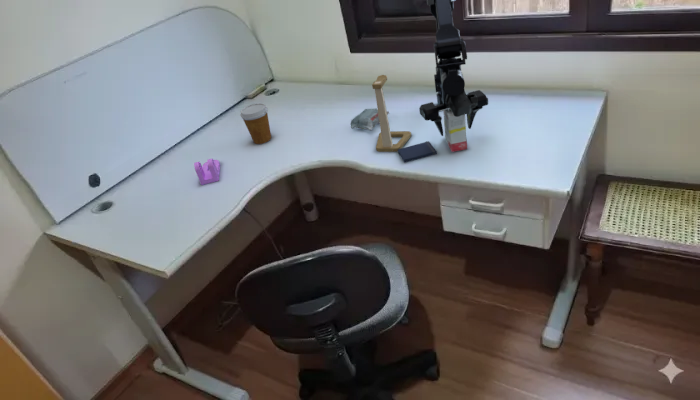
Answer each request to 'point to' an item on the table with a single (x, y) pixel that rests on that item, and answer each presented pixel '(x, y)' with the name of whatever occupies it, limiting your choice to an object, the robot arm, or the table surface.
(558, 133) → the table surface
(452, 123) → the ink box
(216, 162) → the bracket
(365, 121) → the packaged food
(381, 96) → the headphone stand
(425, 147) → the notepad
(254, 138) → the disposable coffee cup
